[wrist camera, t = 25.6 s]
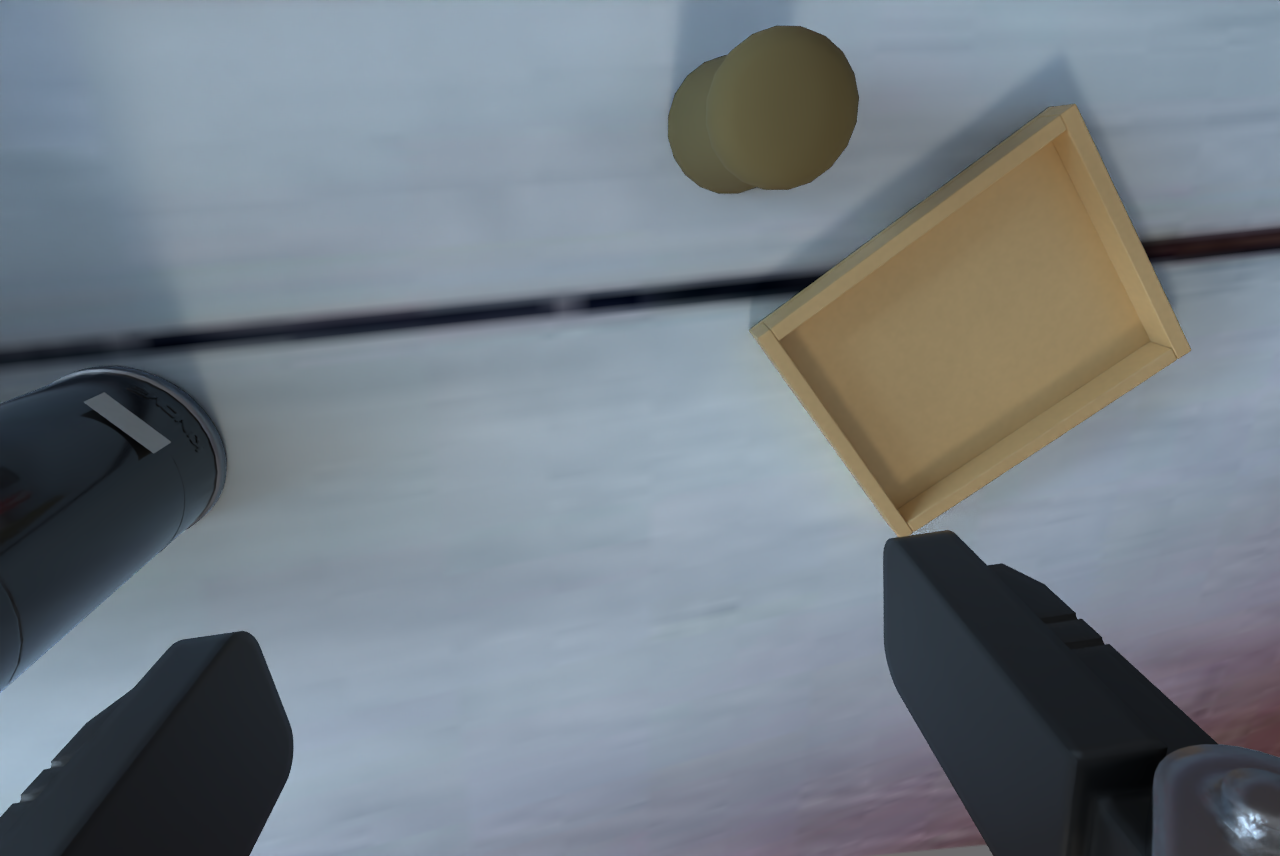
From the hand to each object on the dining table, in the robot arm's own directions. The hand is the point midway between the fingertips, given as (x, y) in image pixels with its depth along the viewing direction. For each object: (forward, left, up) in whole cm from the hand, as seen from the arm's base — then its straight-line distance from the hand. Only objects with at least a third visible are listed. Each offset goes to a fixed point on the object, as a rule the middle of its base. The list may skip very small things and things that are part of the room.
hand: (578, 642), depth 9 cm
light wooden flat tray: (+14, -14, -28) cm, 34 cm away
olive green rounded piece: (+10, +2, -28) cm, 30 cm away
